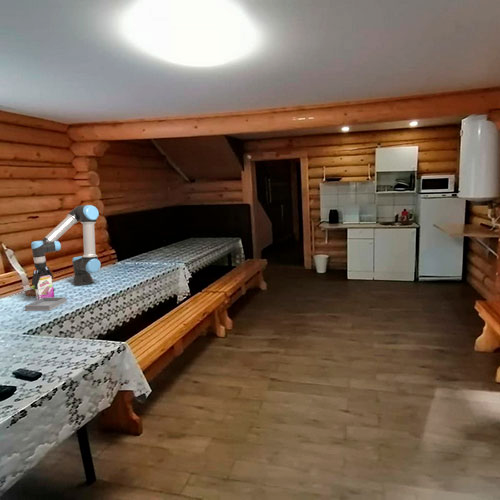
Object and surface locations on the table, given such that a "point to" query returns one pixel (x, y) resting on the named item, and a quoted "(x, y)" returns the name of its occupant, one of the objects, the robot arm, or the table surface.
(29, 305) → the holder
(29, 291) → the plant
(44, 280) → the candy bar box
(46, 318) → the table surface
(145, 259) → the table surface
